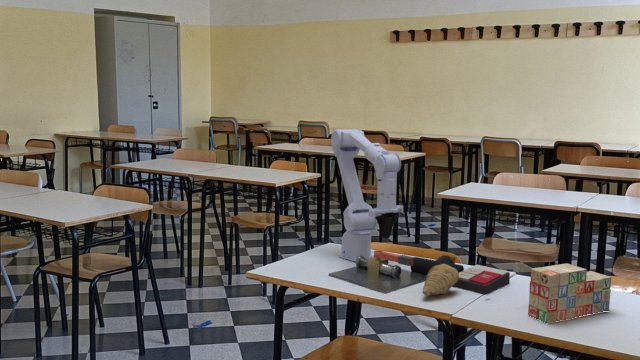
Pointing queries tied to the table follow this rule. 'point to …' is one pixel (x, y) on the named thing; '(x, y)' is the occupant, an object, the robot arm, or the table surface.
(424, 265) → the pipe connector
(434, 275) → the seashell
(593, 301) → the stack of blocks
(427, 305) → the table surface
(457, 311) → the table surface
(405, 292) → the table surface
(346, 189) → the robot arm
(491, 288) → the calculator
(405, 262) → the lever
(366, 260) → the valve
